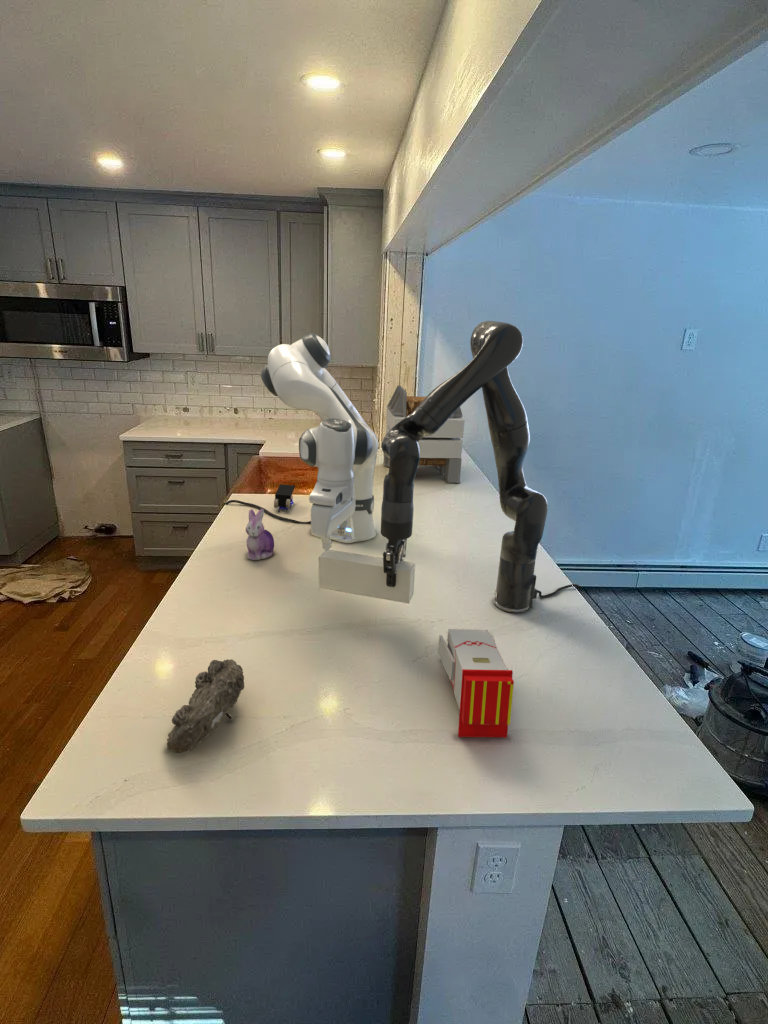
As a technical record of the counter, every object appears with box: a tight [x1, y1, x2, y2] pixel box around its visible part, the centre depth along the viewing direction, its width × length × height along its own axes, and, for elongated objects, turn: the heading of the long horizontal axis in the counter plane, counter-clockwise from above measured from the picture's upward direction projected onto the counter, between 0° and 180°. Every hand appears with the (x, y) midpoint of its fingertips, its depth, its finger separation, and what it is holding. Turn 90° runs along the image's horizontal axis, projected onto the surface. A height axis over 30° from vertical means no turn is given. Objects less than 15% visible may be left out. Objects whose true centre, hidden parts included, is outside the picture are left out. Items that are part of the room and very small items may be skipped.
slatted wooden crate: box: [383, 384, 465, 484], centre depth 268 cm, size 34×33×41 cm
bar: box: [318, 549, 416, 604], centre depth 141 cm, size 23×5×9 cm, turn 74°
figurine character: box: [273, 484, 296, 513], centre depth 219 cm, size 7×8×15 cm
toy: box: [437, 628, 515, 738], centre depth 117 cm, size 12×13×30 cm
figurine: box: [245, 507, 275, 561], centre depth 176 cm, size 9×10×15 cm
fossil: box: [166, 658, 245, 754], centre depth 106 cm, size 22×10×15 cm
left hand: (334, 541), depth 140 cm, fingers open, 8 cm apart
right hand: (393, 580), depth 139 cm, fingers closed on bar, 5 cm apart
